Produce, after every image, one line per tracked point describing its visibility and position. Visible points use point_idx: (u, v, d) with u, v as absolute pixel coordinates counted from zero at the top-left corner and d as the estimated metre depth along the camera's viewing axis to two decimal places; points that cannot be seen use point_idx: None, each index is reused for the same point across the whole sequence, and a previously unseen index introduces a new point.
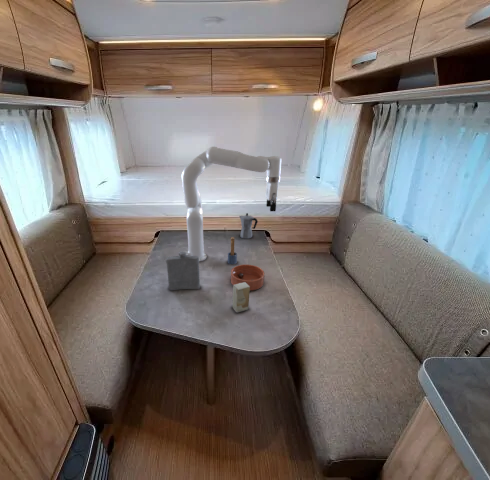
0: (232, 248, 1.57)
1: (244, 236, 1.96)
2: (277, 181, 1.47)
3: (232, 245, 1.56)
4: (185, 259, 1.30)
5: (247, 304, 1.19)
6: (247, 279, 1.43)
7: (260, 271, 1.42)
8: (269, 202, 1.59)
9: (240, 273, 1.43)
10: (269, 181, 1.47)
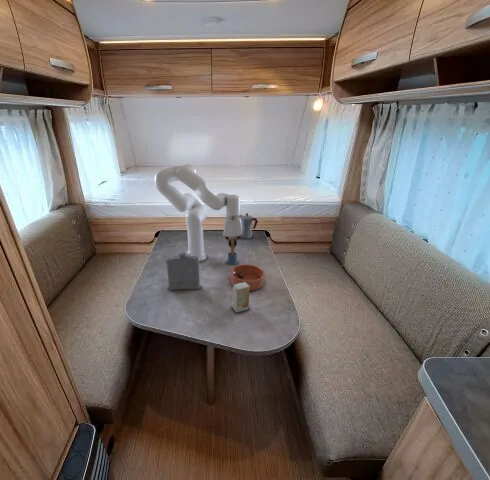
0: (232, 248, 1.57)
1: (244, 236, 1.96)
2: (227, 218, 1.49)
3: (232, 245, 1.56)
4: (185, 259, 1.30)
5: (247, 304, 1.19)
6: (247, 279, 1.43)
7: (260, 271, 1.42)
8: (234, 242, 1.56)
9: (240, 273, 1.43)
10: None
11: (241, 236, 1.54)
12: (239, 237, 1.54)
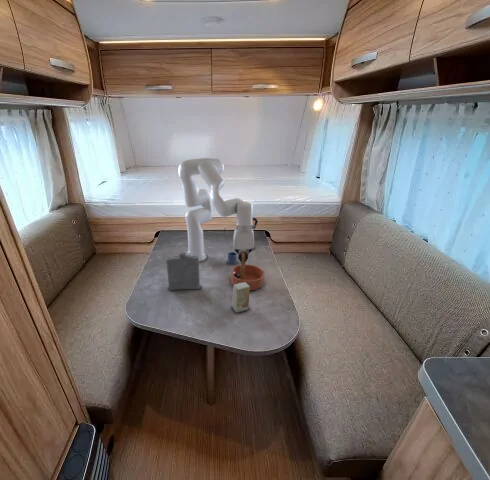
0: (243, 262, 1.36)
1: None
2: (237, 229, 1.28)
3: (243, 259, 1.36)
4: (185, 259, 1.30)
5: (247, 304, 1.19)
6: (247, 279, 1.43)
7: (260, 271, 1.42)
8: None
9: None
10: None
11: (253, 249, 1.34)
12: (251, 250, 1.34)
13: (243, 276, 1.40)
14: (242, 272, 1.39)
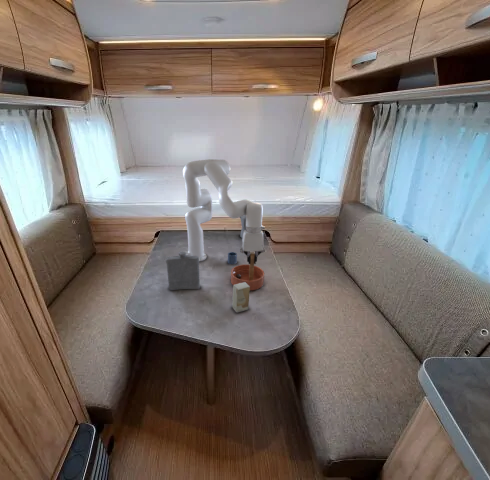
0: (251, 265, 1.34)
1: None
2: (247, 231, 1.26)
3: (252, 261, 1.33)
4: (185, 259, 1.30)
5: (247, 304, 1.19)
6: (247, 279, 1.43)
7: (260, 271, 1.42)
8: None
9: (236, 275, 1.42)
10: None
11: (262, 251, 1.31)
12: (260, 252, 1.31)
13: (252, 278, 1.37)
14: (251, 274, 1.36)
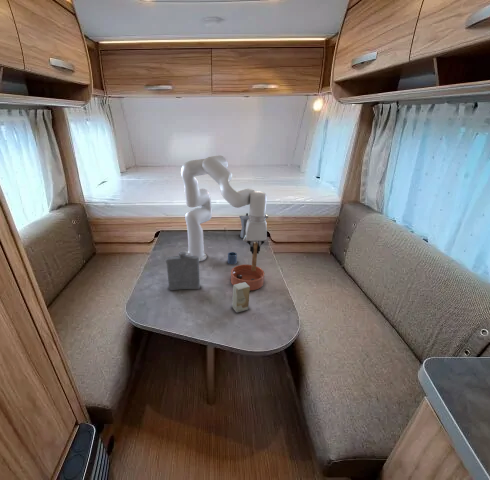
0: (254, 254, 1.34)
1: (244, 236, 1.96)
2: (250, 220, 1.26)
3: (255, 251, 1.33)
4: (185, 259, 1.30)
5: (247, 304, 1.19)
6: (247, 279, 1.43)
7: (260, 271, 1.42)
8: None
9: (237, 276, 1.41)
10: None
11: (266, 241, 1.31)
12: (263, 242, 1.31)
13: (254, 268, 1.37)
14: (253, 264, 1.36)
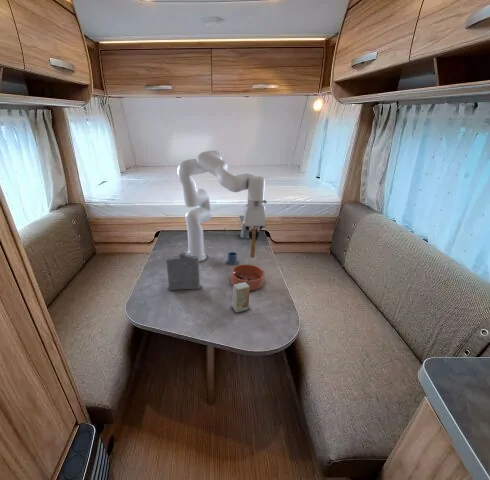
0: (253, 240, 1.33)
1: (244, 236, 1.96)
2: (249, 205, 1.25)
3: (253, 237, 1.32)
4: (185, 259, 1.30)
5: (247, 304, 1.19)
6: (247, 279, 1.43)
7: (260, 271, 1.42)
8: None
9: (238, 276, 1.41)
10: None
11: (264, 226, 1.30)
12: (262, 227, 1.30)
13: (253, 255, 1.36)
14: (252, 250, 1.35)
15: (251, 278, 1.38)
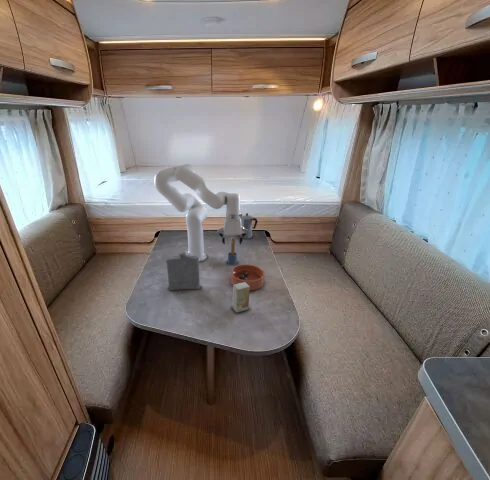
0: (232, 248, 1.57)
1: (244, 236, 1.96)
2: (227, 217, 1.48)
3: (232, 245, 1.56)
4: (185, 259, 1.30)
5: (247, 304, 1.19)
6: (247, 279, 1.43)
7: (260, 271, 1.42)
8: (239, 239, 1.55)
9: (241, 276, 1.40)
10: None
11: (246, 231, 1.53)
12: (245, 234, 1.53)
13: None
14: None
15: (246, 276, 1.44)
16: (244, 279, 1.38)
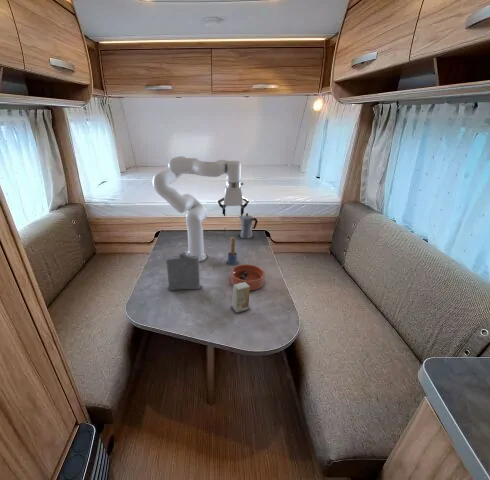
0: (232, 248, 1.57)
1: (244, 236, 1.96)
2: (227, 186, 1.41)
3: (232, 245, 1.56)
4: (185, 259, 1.30)
5: (247, 304, 1.19)
6: None
7: (260, 271, 1.42)
8: (241, 210, 1.49)
9: (242, 276, 1.40)
10: None
11: (247, 202, 1.46)
12: (246, 204, 1.46)
13: None
14: None
15: (246, 275, 1.44)
16: (245, 279, 1.38)
